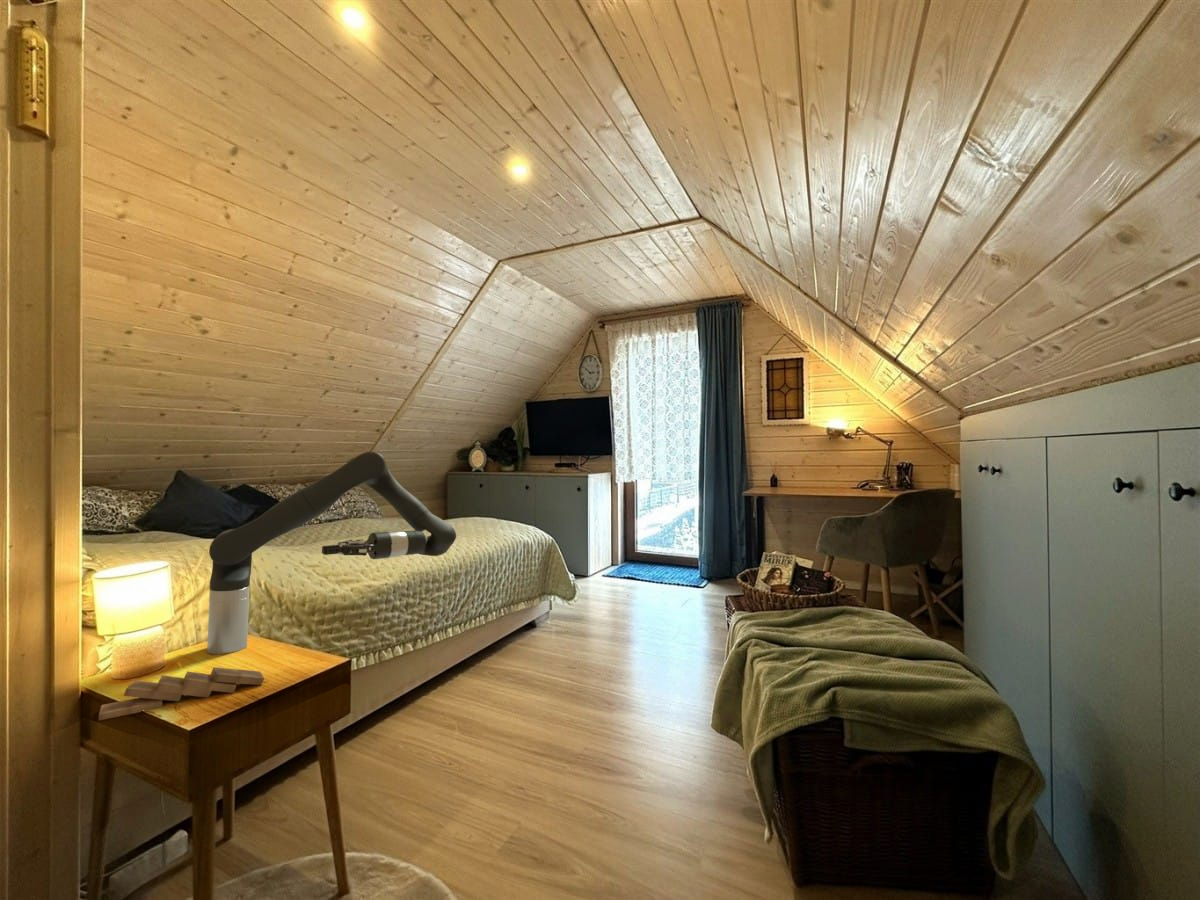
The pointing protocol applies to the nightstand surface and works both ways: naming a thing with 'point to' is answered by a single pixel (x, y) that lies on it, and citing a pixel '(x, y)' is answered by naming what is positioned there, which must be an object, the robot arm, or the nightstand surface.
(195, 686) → the tile
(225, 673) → the loose tile
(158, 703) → the tile
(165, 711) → the nightstand surface
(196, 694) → the tile
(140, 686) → the wooden domino
